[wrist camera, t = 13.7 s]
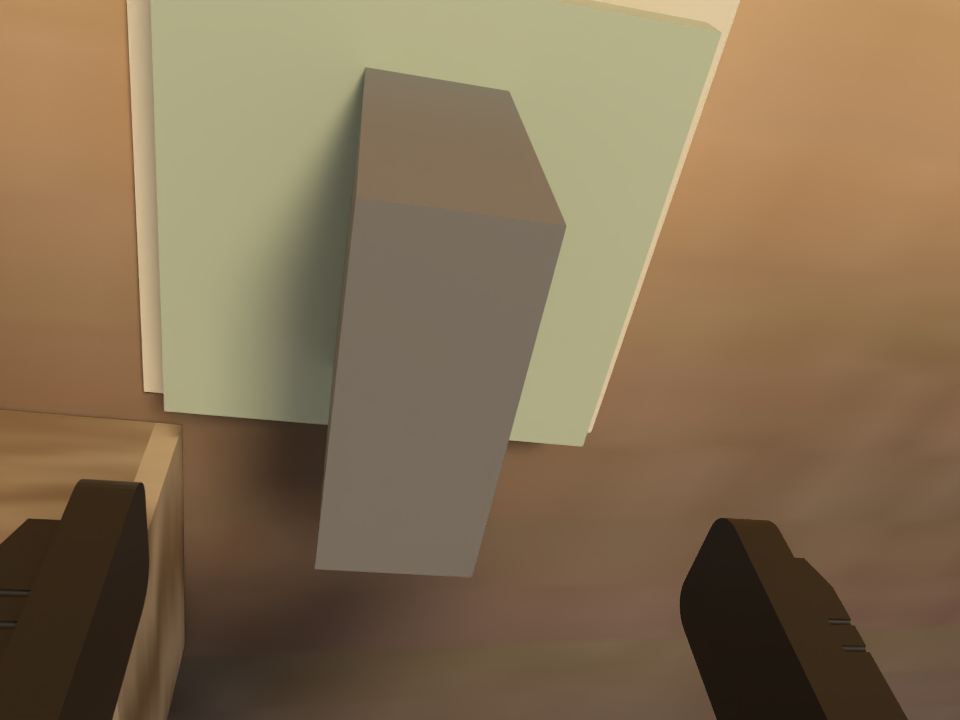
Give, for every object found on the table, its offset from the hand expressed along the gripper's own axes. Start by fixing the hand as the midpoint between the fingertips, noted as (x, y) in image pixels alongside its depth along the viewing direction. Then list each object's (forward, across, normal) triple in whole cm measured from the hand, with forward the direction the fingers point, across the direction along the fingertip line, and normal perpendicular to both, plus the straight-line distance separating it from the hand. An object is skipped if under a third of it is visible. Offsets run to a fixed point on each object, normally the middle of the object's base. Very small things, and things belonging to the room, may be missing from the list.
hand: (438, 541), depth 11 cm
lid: (+11, 0, 0) cm, 11 cm away
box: (+13, +12, +14) cm, 22 cm away
